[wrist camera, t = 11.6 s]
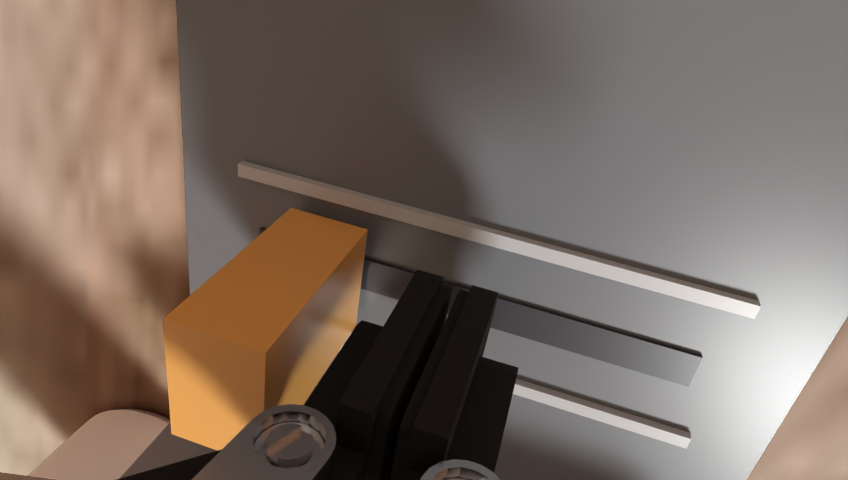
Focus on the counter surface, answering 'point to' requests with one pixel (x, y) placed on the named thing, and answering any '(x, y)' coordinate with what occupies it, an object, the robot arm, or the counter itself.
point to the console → (553, 198)
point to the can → (103, 446)
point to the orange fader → (263, 326)
